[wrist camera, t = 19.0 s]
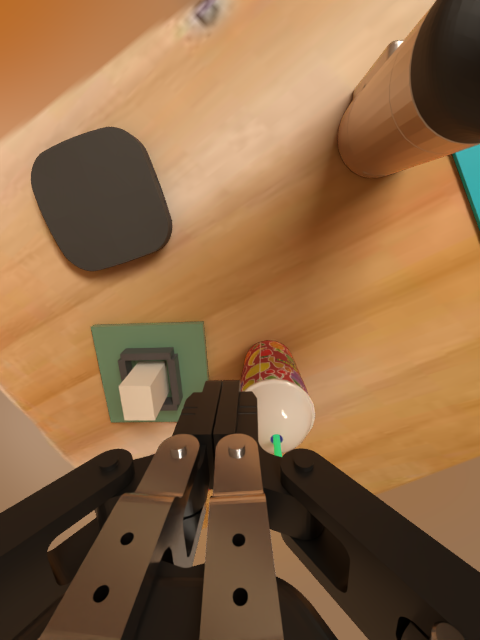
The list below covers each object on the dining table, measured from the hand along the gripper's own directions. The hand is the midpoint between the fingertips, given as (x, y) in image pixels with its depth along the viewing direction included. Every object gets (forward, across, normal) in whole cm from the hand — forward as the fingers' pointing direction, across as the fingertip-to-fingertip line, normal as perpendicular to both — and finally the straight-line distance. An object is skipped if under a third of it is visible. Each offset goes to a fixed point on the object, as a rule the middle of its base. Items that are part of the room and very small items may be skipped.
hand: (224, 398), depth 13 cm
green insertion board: (+29, +14, +14) cm, 35 cm away
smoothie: (+29, -3, +12) cm, 32 cm away
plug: (+28, +14, +14) cm, 34 cm away
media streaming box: (+30, +17, -10) cm, 36 cm away
